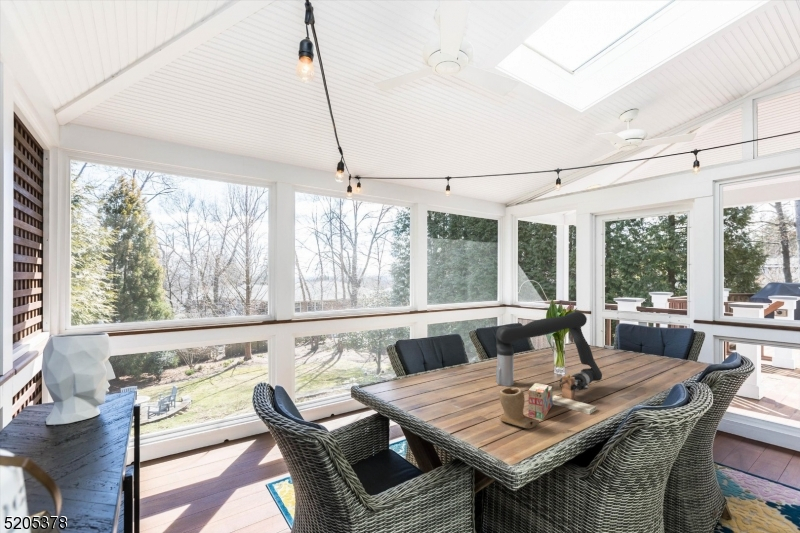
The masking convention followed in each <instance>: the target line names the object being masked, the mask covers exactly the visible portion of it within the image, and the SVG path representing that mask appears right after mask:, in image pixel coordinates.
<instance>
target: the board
mask: <svg viewBox="0 0 800 533" xmlns="http://www.w3.org/2000/svg"><path fill="white" fill-rule="evenodd" d="M553 405H554V406H558V407H562V408H565V409H569V410H573V411H577V412H580V413H584V414H587V415H591V414H593V413H594V412H595V411H597V405H592V404H589V403H585V402H581V401H577V400H575V399H574V400H570V399H567V398H563V397H562V396H559V395H555V394H553Z"/></svg>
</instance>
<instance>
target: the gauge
mask: <svg viewBox="0 0 800 533" xmlns="http://www.w3.org/2000/svg"><path fill="white" fill-rule="evenodd" d="M571 376H572V375H570V374H566V375H564V376H562V377H561V378H562V382H560V381H559V386H560V385H561V387H562V388H561V387H560V388H561V397H563V398H567V399H570V400H574V401H575V398H576V397H575V396H576V391H575V390H576V389H575V390H571V386H572V385H575V377H571Z"/></svg>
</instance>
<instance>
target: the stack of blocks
mask: <svg viewBox="0 0 800 533" xmlns="http://www.w3.org/2000/svg"><path fill="white" fill-rule="evenodd" d="M553 396H554V394H553V386H551V385H548V384H543V383H537V382H535V383H534V384H533V385H532V386H531V387H530V388H529V389H528V416H527V417H530V418H533V419H537V420H543V419H544V418H545V417H546V416H547V414H548V413H549V411H550V410H551V408H552V407H553V406H554V404H553Z"/></svg>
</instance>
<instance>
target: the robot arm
mask: <svg viewBox="0 0 800 533" xmlns="http://www.w3.org/2000/svg"><path fill="white" fill-rule="evenodd" d="M587 321H588V317H587V315H585V314H584V313H583V312H580V311H573V312H568V313H567V314H566V315H563V316H557V317H556V316H555V317H547V318H541V319H536V320H533V321H530V322H528V323H526V324H524V325H520V326H517V327H509V326H506V325H502V326H500V327H498V328H497V330H496V332H495V333H496V335H495V339H496V340H495V341H496V342H495V343H496V344H495V346H496V351H497V352H496V355H497V357H496V359H497V360H496V363H497V364H496V366H495V382H496V383H497V385H499V386H506V387H510V386H514V381H515V380H514V379H515V378H514V372H515V371H514V370H515V368H514V367H515V366H514V363H515V362H514V361H515V360H514V359H515V358H514V355H515V353H514V352H515V351H514V348H513V343H515V342H518V341H521V340H524V339H530V338H536V337H542V336H547V335H551V334H554V333H557V332H560V331H563V330H567V329H569V332H570V335H571V337H572V340H573V342H574V345H575V347H576V350H577V353H578V356H579V357H578V358H579V360H580V363H581V364H582V365H584V366H585V365H586V366H589V368H583V369H582V368H581V370H580V371H579V372H577V373H574V374H572V375H570V376H571V377H575V385H572V386H571V390H578V391H583V390H584V391H585V390H588V389H589V388H588V385H589V384H591V383H592V382H598V381H601V380H602V378H603V373H602V370H601V369H600V368H599V365H598V364H597V362H596V360H595V359H594V354H593V352H592V350H591V347H590V345H589V343H588V341H587V340H586V338H585V336H584V334H583V332H582V327H584V326H585V325H586V323H587ZM560 382H562V377H561V378H560V379H559V383H560ZM559 387H560V388H561V389H562V387H561V385H560V384H559Z"/></svg>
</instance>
